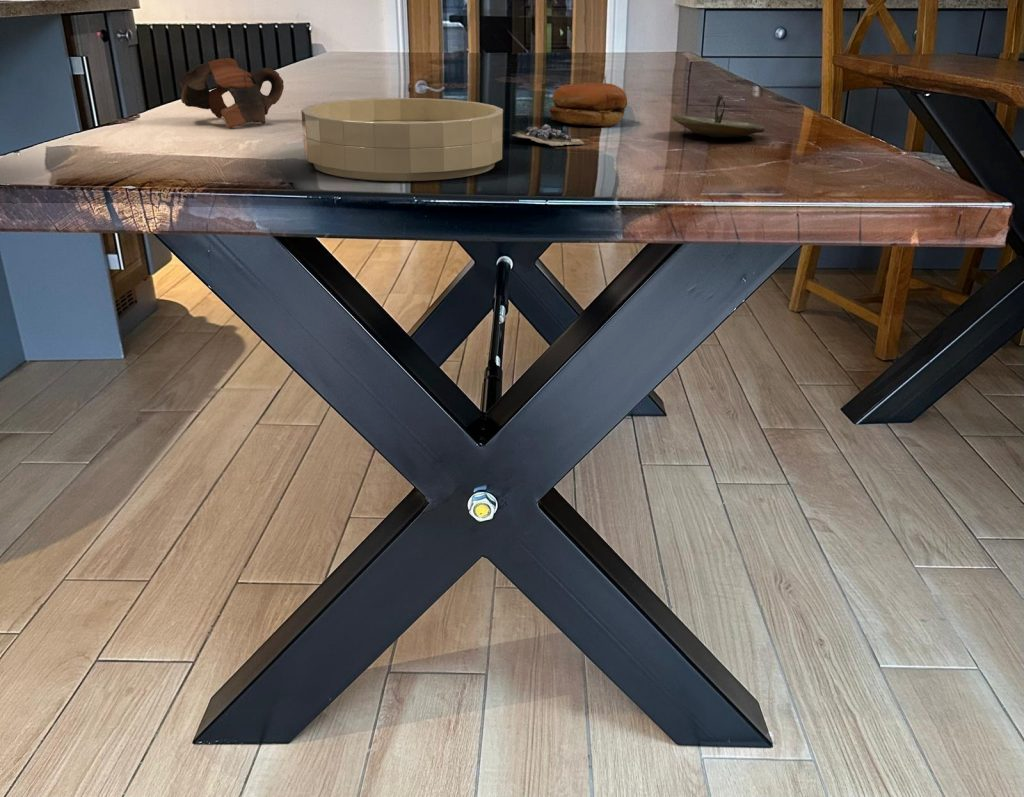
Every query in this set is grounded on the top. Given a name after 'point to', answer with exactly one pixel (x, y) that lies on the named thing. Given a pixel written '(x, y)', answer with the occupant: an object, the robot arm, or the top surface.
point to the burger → (589, 104)
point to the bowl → (403, 138)
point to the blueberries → (548, 136)
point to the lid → (718, 125)
